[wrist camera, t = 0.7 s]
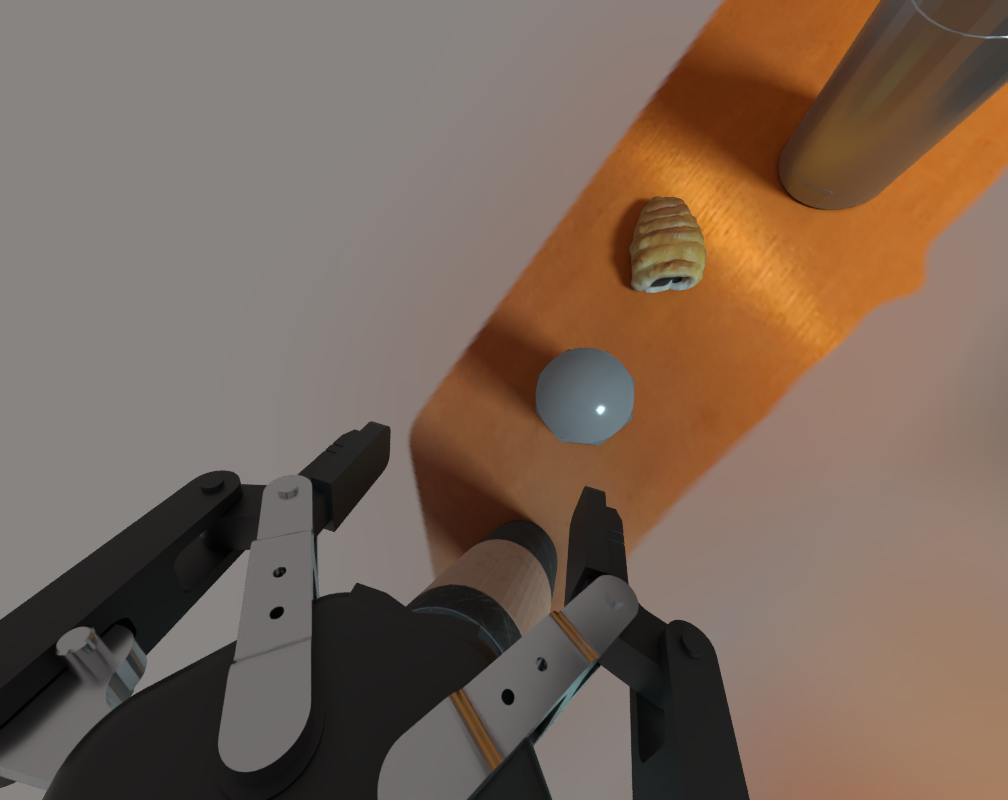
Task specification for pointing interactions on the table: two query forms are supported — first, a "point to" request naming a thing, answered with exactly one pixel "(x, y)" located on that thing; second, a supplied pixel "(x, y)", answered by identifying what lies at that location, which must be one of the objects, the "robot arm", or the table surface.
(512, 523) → the travel mug
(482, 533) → the table surface
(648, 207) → the pastry
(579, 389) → the canister
